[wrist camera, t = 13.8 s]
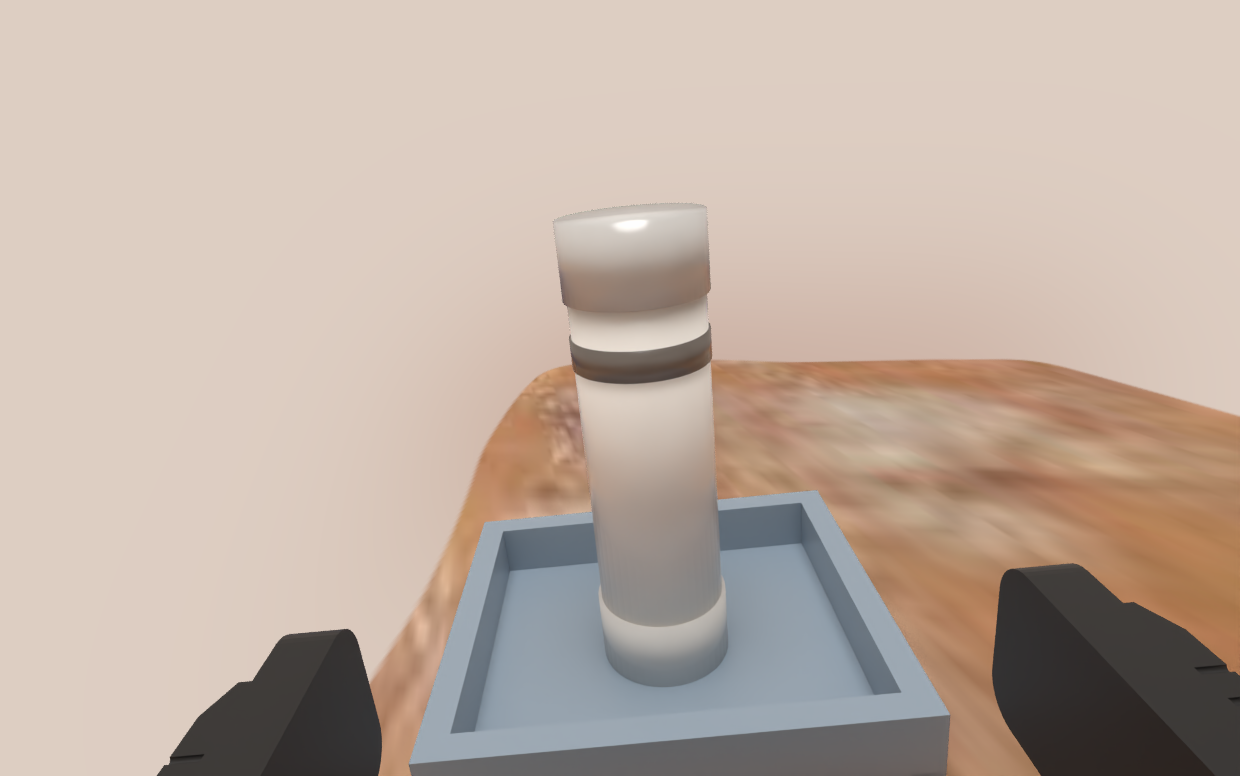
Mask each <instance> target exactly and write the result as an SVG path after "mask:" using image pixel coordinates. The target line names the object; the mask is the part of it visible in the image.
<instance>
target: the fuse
mask: <svg viewBox="0 0 1240 776" xmlns="http://www.w3.org/2000/svg"><path fill="white" fill-rule="evenodd" d="M553 227H554V235H555V243H556V251H557V259H558V268H559V275H560V284H561V292H562V300H563V303H564V305H566V306H567V309H568V317H569V325H570V337H569V341H570V350H571V357H572V366H573V370H574V372H575V375H576V384H577V392H578V400H579V409H580V417H581V425H582V434H583V442H584V450H585V459H586V467H587V475H588V484H589V492H590V500H591V509H592V517H593V525H594V534H595V542H596V550H597V559H598V567H599V575H600V586H599V592H598V594H599V603H600V612H601V620H602V628H603V636H604V644H605V652H606V656H607V659H608V661H609V663H610V664H611V665H612V667H613V668H614V669H615V670H616V671H617V672H618V673H619V674H621V675H622V676H624V677H625V678H627V679H629V680H631V681H634V682H636V683H639V684H643V685H647V686H653V687H673V686H680V685H685V684H689V683H691V682H694V681H697V680H699V679H701V678H703V677H705V676H707V675H708V674H710V673H711V672H712V671H714V670H715V669H716V668H717V667H718V666H719V665H720V663H721V662H722V661H723V659H724V657H725V655H726V653H727V649H728V629H727V608H726V588H725V581H724V579H723V576H722V575H721V557H720V537H719V518H718V498H717V478H716V459H715V439H714V420H713V400H712V380H711V359H712V342H711V326H710V323H709V322H708V303H707V293H709V291H710V289H711V283H710V265H709V264H710V262H709V243H708V221H707V207H706V206H704V205H700V204H691V203H661V204H643V205H631V206H621V207H612V208H604V209H598V210H591V211H585V212H579V213H575V214H570V215H566V216H563V217H560V218H557V219H555V220H554V221H553Z"/></svg>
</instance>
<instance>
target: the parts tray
mask: <svg viewBox="0 0 1240 776" xmlns="http://www.w3.org/2000/svg"><path fill="white" fill-rule="evenodd" d="M718 518H719V537H720V557H721V575H722V576H723V579H724V581H725V588H726V608H727V629H728V649H727V653H726V655H725V657H724V659H723V661H722V662H721V663H720V665H719V666H718V667H717V668H716V669H715V670H714V671H712V672H711V673H710V674H708V675H707V676H705V677H703V678H701V679H699V680H697V681H694V682H691V683H689V684H685V685H680V686H673V687H653V686H647V685H643V684H639V683H636V682H634V681H631V680H629V679H627V678H625V677H624V676H622V675H621V674H619V673H618V672H617V671H616V670H615V669H614V668H613V667H612V665H611V664H610V663H609V661H608V659H607V656H606V652H605V644H604V636H603V628H602V620H601V612H600V603H599V594H598V592H599V586H600V575H599V567H598V559H597V550H596V542H595V534H594V525H593V517H592V512H586V513H576V514H566V515H555V516H545V517H534V518H524V519H514V520H503V521H493V522H485V523H484V527H483V530H482V533H481V536H480V539H479V542H478V546H477V549H476V552H475V555H474V558H473V562H472V565H471V568H470V571H469V574H468V577H467V581H466V584H465V587H464V590H463V593H462V596H461V600H460V603H459V606H458V609H457V612H456V616H455V619H454V622H453V625H452V628H451V631H450V635H449V638H448V641H447V644H446V647H445V650H444V654H443V657H442V660H441V663H440V666H439V670H438V673H437V676H436V679H435V682H434V685H433V689H432V692H431V695H430V698H429V701H428V705H427V708H426V711H425V714H424V717H423V720H422V724H421V727H420V730H419V733H418V736H417V739H416V743H415V746H414V749H413V752H412V755H411V759H410V762H409V767H410V771H411V775H412V776H946V769H947V755H948V741H949V726H950V714H949V712H948V710H947V709H946V707H945V705H944V703H943V702H942V700H941V698H940V697H939V695H938V693H937V692H936V690H935V688H934V687H933V685H932V683H931V682H930V680H929V678H928V676H927V675H926V673H925V671H924V670H923V668H922V666H921V665H920V663H919V661H918V660H917V658H916V656H915V655H914V653H913V651H912V650H911V648H910V646H909V644H908V643H907V641H906V639H905V638H904V636H903V634H902V633H901V631H900V629H899V628H898V626H897V624H896V623H895V621H894V619H893V617H892V616H891V614H890V612H889V611H888V609H887V607H886V606H885V604H884V602H883V601H882V599H881V597H880V596H879V594H878V592H877V590H876V589H875V587H874V585H873V584H872V582H871V580H870V579H869V577H868V575H867V574H866V572H865V570H864V569H863V567H862V565H861V563H860V562H859V560H858V558H857V557H856V555H855V553H854V552H853V550H852V548H851V547H850V545H849V543H848V542H847V540H846V538H845V536H844V535H843V533H842V531H841V530H840V528H839V526H838V525H837V523H836V521H835V520H834V518H833V516H832V515H831V513H830V511H829V510H828V508H827V506H826V504H825V503H824V501H823V499H822V498H821V496H820V494H819V493H818V491H817V490H814V491H804V492H794V493H783V494H773V495H763V496H752V497H742V498H731V499H721V500H718Z"/></svg>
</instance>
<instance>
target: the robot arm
mask: <svg viewBox="0 0 1240 776" xmlns="http://www.w3.org/2000/svg"><path fill="white" fill-rule="evenodd" d="M992 677H993V686H994V691H995V696H996V699H997V703H998V706H999V708H1000V711H1001V713H1002V716H1003V718H1004V720H1005V722H1006V724H1007V725H1008V727H1009V729H1010V730H1011V732H1012V733H1013V735H1014V736H1015V738H1016V739H1017V741H1018V742H1019V744H1020V745H1021V747H1022V748H1023V749H1024V751H1025V752H1026V754H1027V755H1028V757H1029V758H1030V760H1031V761H1032V763H1033V764H1034V766H1035V767H1036V769H1037V770H1038V772H1039V773H1040V775H1041V776H1240V676H1239V675H1238V674H1237V673H1236V672H1229V671H1228V669H1227V664H1225V663H1224V662H1223V661H1222V660H1221V659H1219V658H1218V657H1217V656H1216V655H1215V654H1214V653H1212V652H1211V651H1210V650H1209V649H1208V648H1207V647H1205V646H1204V645H1203V644H1202V643H1201V642H1200V641H1198V640H1197V639H1196V638H1195V637H1194V636H1193V635H1191V634H1190V633H1189V632H1188V631H1187V630H1186V629H1184V628H1182V627H1180V626H1178V625H1176V624H1174V623H1172V622H1170V621H1168V620H1167V619H1165V618H1163V617H1161V616H1159V615H1157V614H1155V613H1153V612H1151V611H1149V610H1148V609H1146V608H1144V607H1142V606H1140V605H1138V604H1136V603H1134V602H1131V603H1122V602H1121V601H1120V600H1119V599H1118V598H1117V597H1116V596H1115V595H1114V594H1112V593H1111V592H1110V591H1109V590H1108V589H1107V588H1106V587H1105V586H1104V585H1102V584H1101V583H1100V582H1099V581H1098V580H1097V579H1096V578H1095V577H1094V576H1093V575H1091V574H1090V573H1089V572H1088V571H1087V570H1086V569H1084V568H1083V567H1081V566H1080V565H1077V564H1073V563H1072V564H1060V565H1049V566H1038V567H1028V568H1017V569H1009V570H1007V571H1006V572H1005V573H1004V575H1003V577H1002V580H1001V584H1000V592H999V603H998V613H997V624H996V635H995V646H994V657H993V668H992ZM381 752H382V737H381V728H380V723H379V719H378V715H377V711H376V708H375V704H374V700H373V696H372V693H371V689H370V685H369V681H368V678H367V674H366V670H365V666H364V663H363V660H362V655H361V652H360V648H359V644H358V641H357V639H356V637H355V635H354V634H353V632H352V631H351V630H348V629H342V630H331V631H321V632H309V633H298V634H289V635H286V636H283V637H282V638H281V639H280V640H279V641H278V643H277V644H276V645H275V647H274V649H273V650H272V652H271V653H270V655H269V656H268V658H267V659H266V661H265V662H264V664H263V665H262V667H261V668H260V670H259V671H258V673H257V675H256V676H255V678H254V679H253V681H249V682H239V683H237V684H236V685H235V686H234V687H233V688H232V689H230V690H229V691H228V692H227V693H226V694H225V695H224V696H222V697H221V698H220V699H219V700H218V701H217V702H215V703H214V704H213V705H212V706H211V707H209V708H208V709H207V710H206V711H205V712H204V713H203V714H201V715H200V716H199V717H198V718H197V719H196V721H195V722H194V724H193V725H192V727H191V728H190V729H189V731H188V732H187V734H186V735H185V737H184V738H183V739H182V741H181V742H180V744H179V745H178V747H177V748H176V749H175V751H174V752H173V754H172V755H171V757H170V763H169V765H164V766H163V768H162V769H161V771H160V772H159V773H158V775H157V776H378V774H379V769H380V763H381Z"/></svg>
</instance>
